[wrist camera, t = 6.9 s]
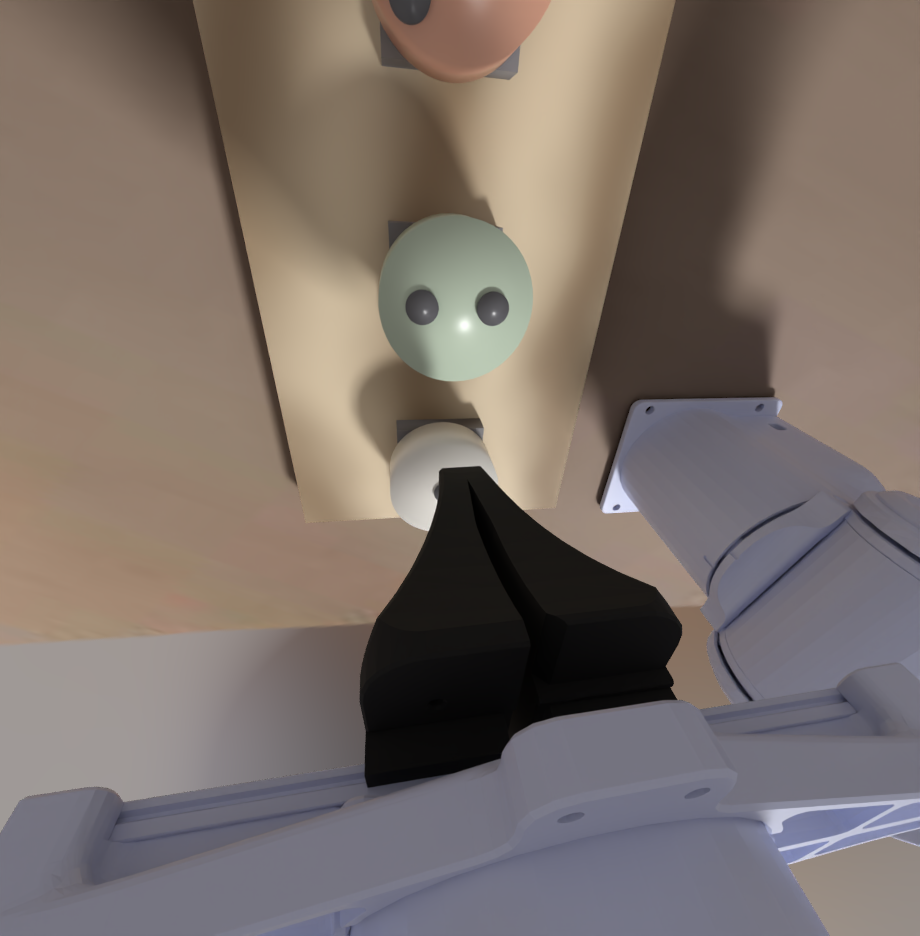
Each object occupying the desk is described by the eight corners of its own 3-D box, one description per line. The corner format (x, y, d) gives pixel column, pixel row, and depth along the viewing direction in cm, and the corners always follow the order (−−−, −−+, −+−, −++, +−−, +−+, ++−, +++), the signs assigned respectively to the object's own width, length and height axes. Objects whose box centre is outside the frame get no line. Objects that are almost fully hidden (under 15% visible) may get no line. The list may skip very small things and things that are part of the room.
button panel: (681, -166, 12) (757, -258, 9) (544, 487, 25) (561, 519, 23) (157, -280, 10) (81, -438, 7) (311, 499, 23) (302, 536, 21)
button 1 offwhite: (493, 420, 18) (504, 444, 17) (484, 502, 21) (493, 530, 19) (387, 423, 18) (387, 449, 16) (391, 507, 20) (392, 537, 19)
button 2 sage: (525, 216, 13) (546, 220, 11) (507, 361, 16) (523, 382, 14) (374, 209, 12) (372, 211, 11) (383, 361, 15) (382, 384, 13)
